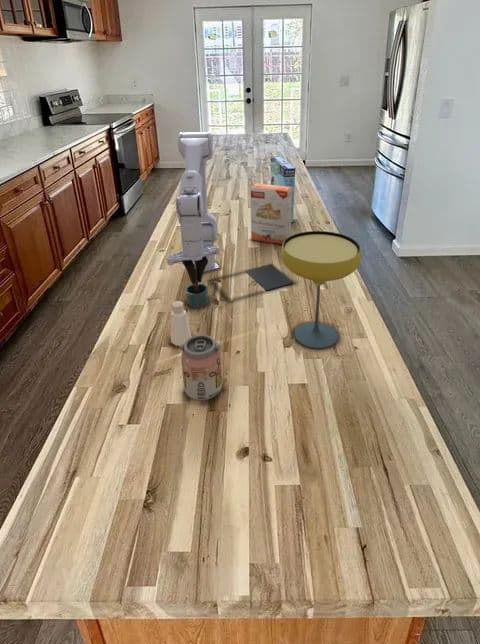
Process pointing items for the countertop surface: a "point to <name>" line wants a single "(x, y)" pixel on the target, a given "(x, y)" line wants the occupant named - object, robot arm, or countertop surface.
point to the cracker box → (270, 213)
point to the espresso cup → (197, 296)
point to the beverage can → (201, 367)
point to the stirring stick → (196, 282)
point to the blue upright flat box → (283, 176)
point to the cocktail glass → (320, 273)
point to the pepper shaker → (179, 324)
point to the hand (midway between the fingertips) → (195, 281)
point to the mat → (269, 277)
